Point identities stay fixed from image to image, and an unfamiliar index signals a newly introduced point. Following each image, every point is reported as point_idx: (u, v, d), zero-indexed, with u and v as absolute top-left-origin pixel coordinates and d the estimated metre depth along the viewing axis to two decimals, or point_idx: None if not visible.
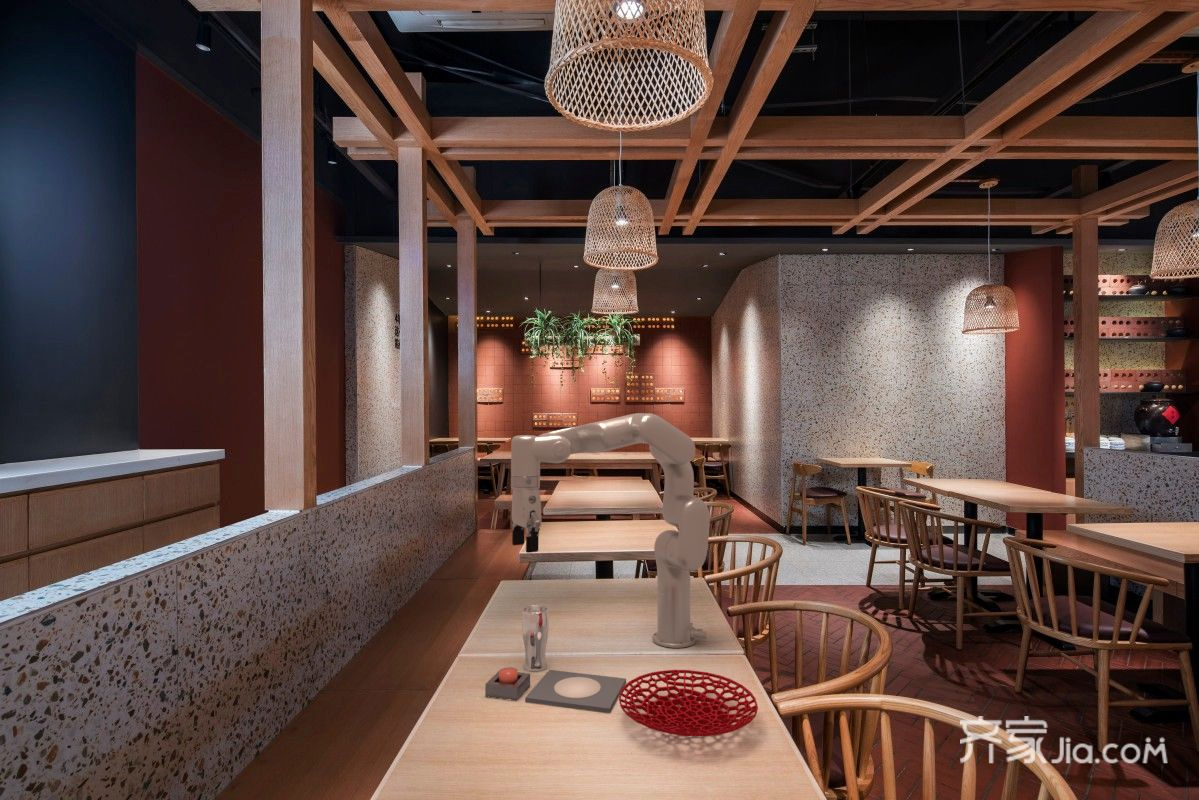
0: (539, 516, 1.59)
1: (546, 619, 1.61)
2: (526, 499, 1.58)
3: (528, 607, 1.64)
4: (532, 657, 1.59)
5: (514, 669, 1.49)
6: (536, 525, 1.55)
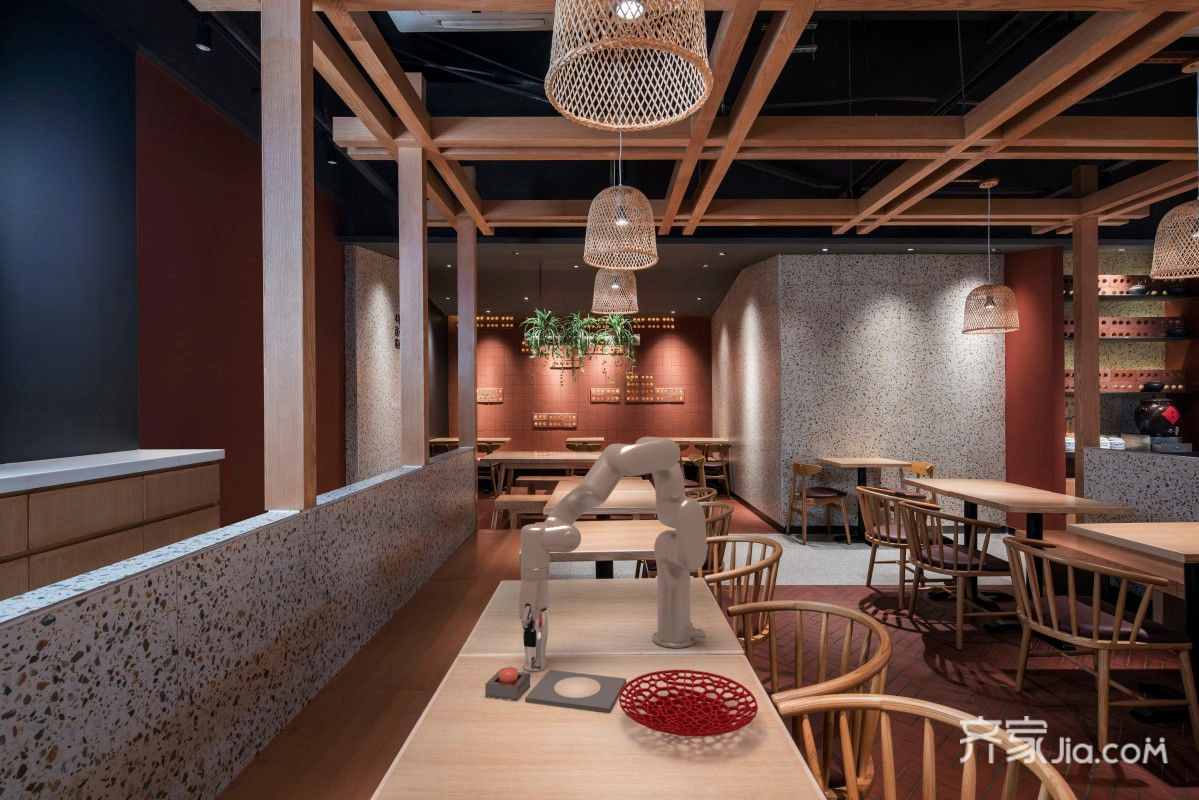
0: None
1: (546, 619, 1.61)
2: None
3: None
4: (532, 657, 1.59)
5: (514, 669, 1.49)
6: None
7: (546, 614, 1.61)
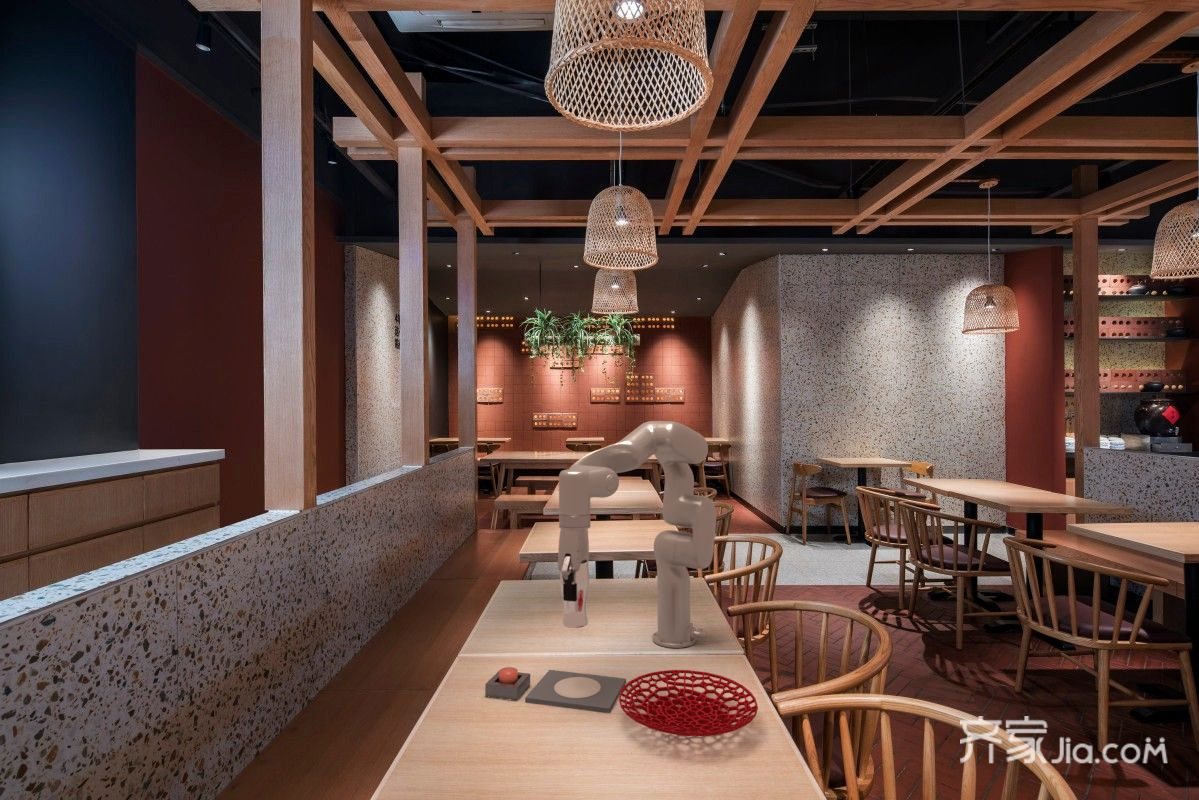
0: None
1: (587, 571, 1.47)
2: None
3: None
4: (572, 612, 1.46)
5: (514, 669, 1.49)
6: None
7: (587, 566, 1.47)
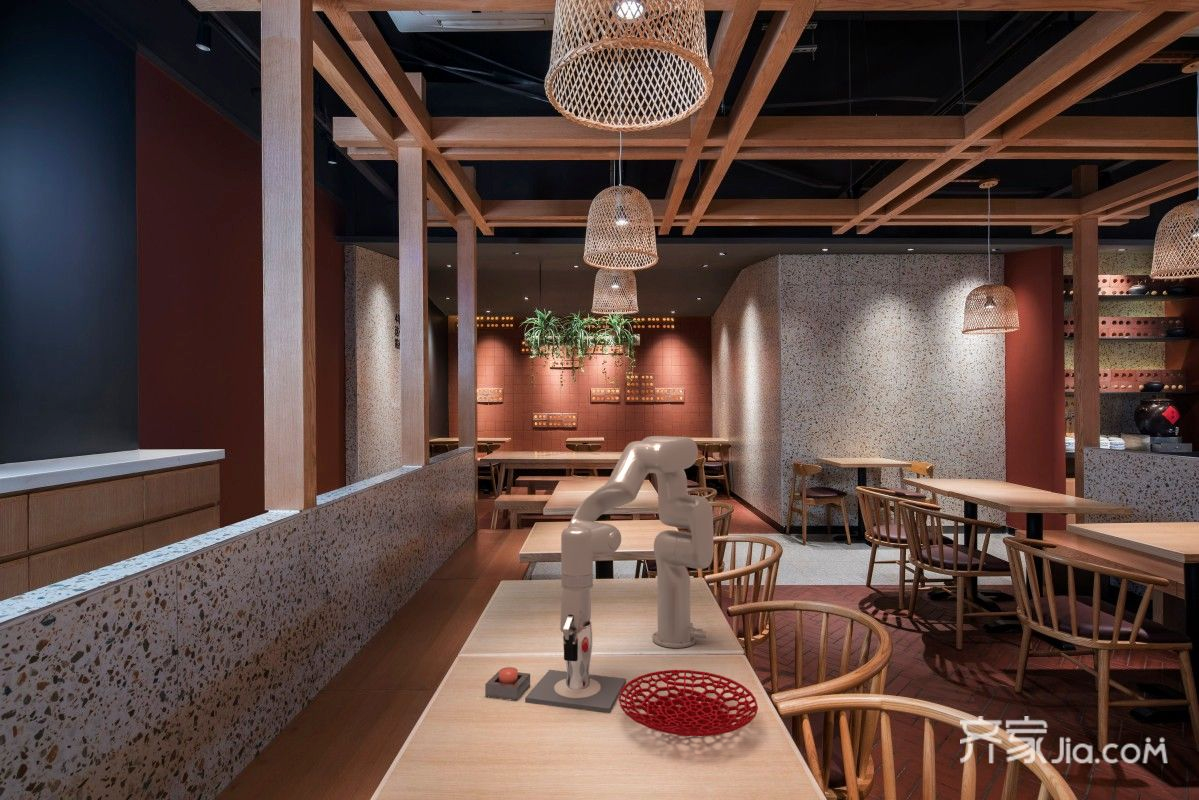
0: None
1: (590, 634, 1.46)
2: None
3: None
4: (575, 676, 1.45)
5: (514, 669, 1.49)
6: None
7: (590, 629, 1.47)
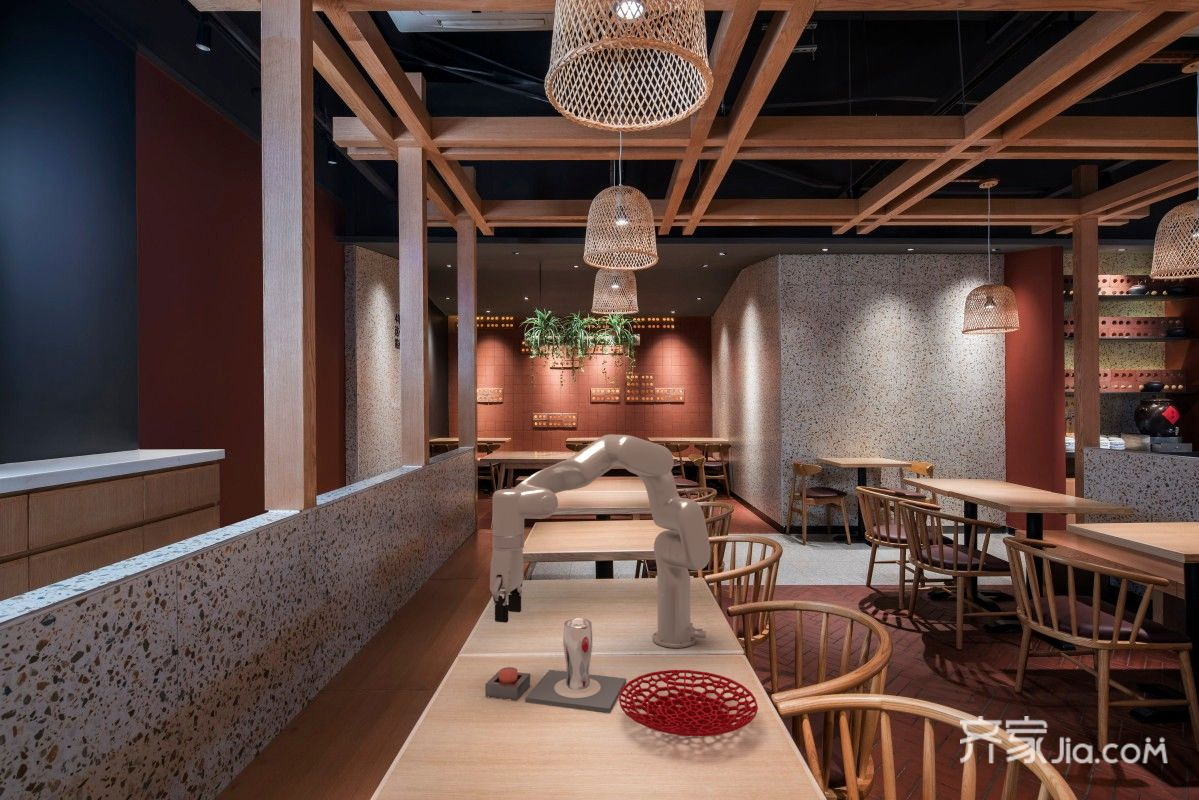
0: None
1: (590, 634, 1.46)
2: None
3: (569, 621, 1.50)
4: (575, 676, 1.45)
5: (514, 669, 1.49)
6: None
7: (590, 629, 1.47)
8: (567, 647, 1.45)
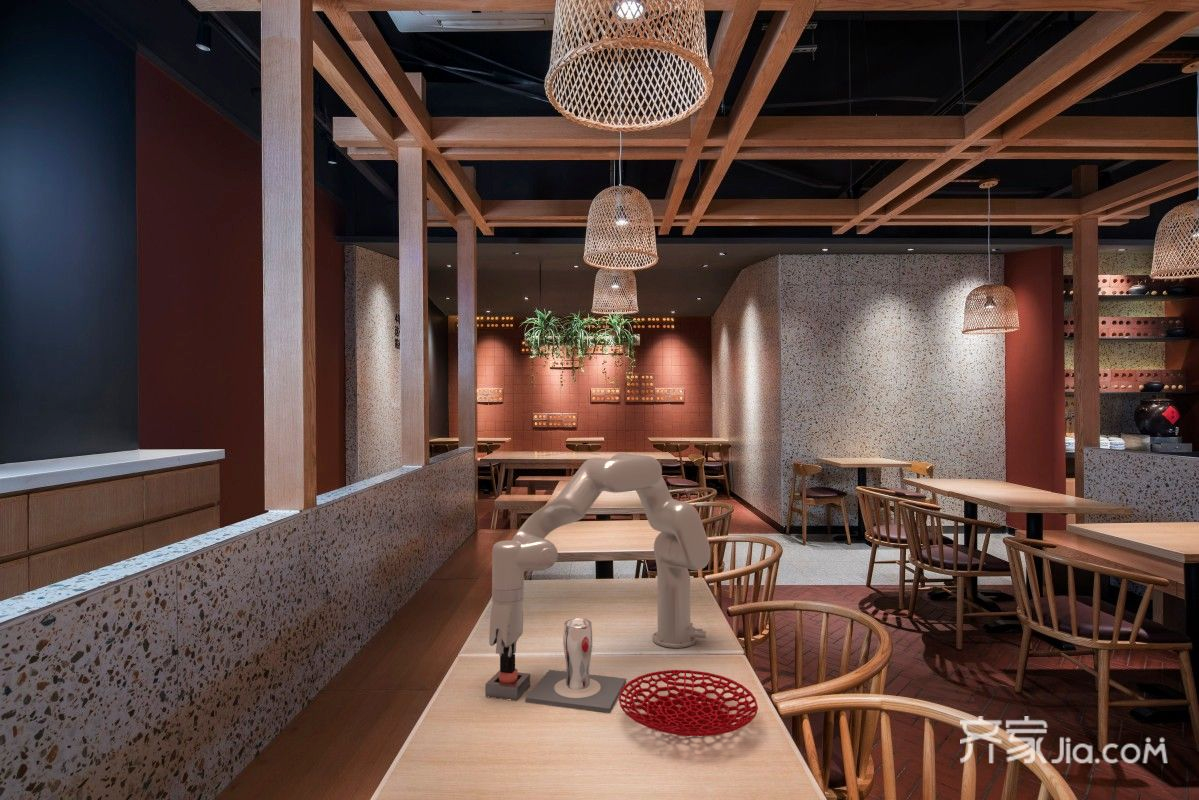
0: None
1: (590, 634, 1.46)
2: None
3: (569, 621, 1.50)
4: (575, 676, 1.45)
5: None
6: None
7: (590, 629, 1.47)
8: (567, 647, 1.45)
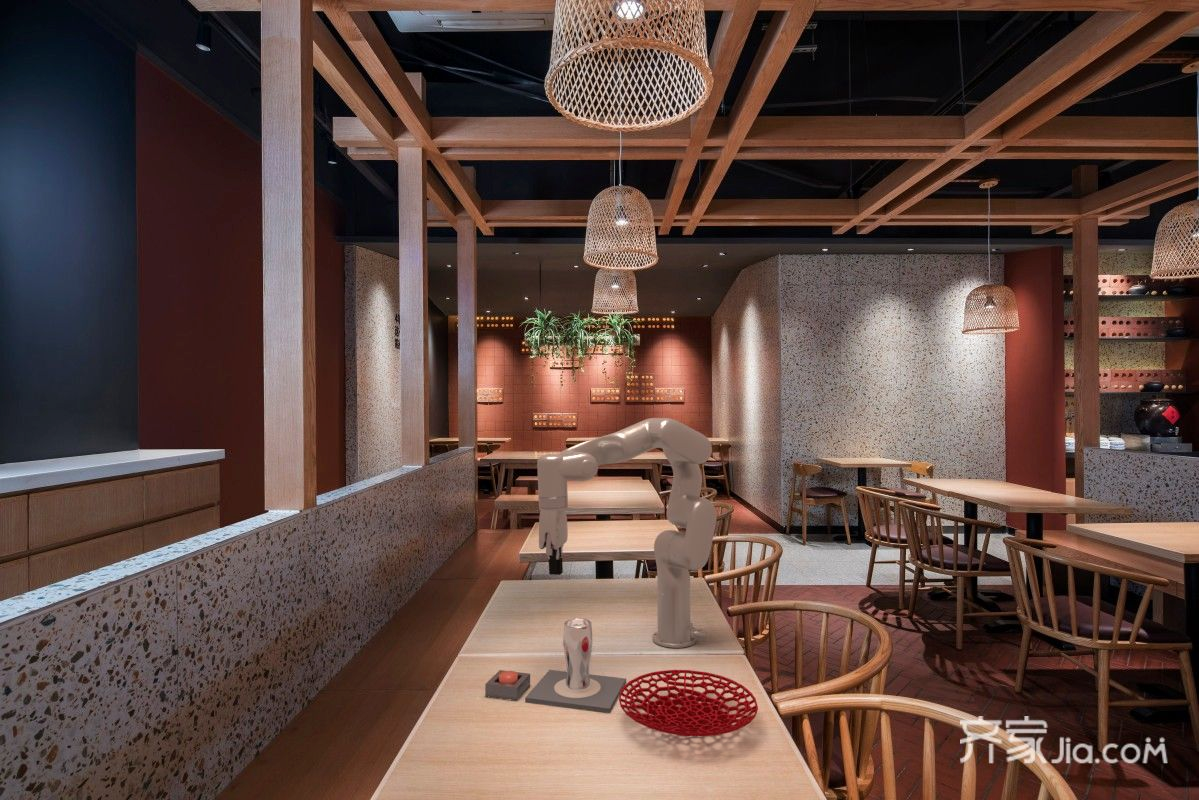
0: None
1: (590, 634, 1.46)
2: None
3: (569, 621, 1.50)
4: (575, 676, 1.45)
5: (514, 673, 1.49)
6: None
7: (590, 629, 1.47)
8: (567, 647, 1.45)
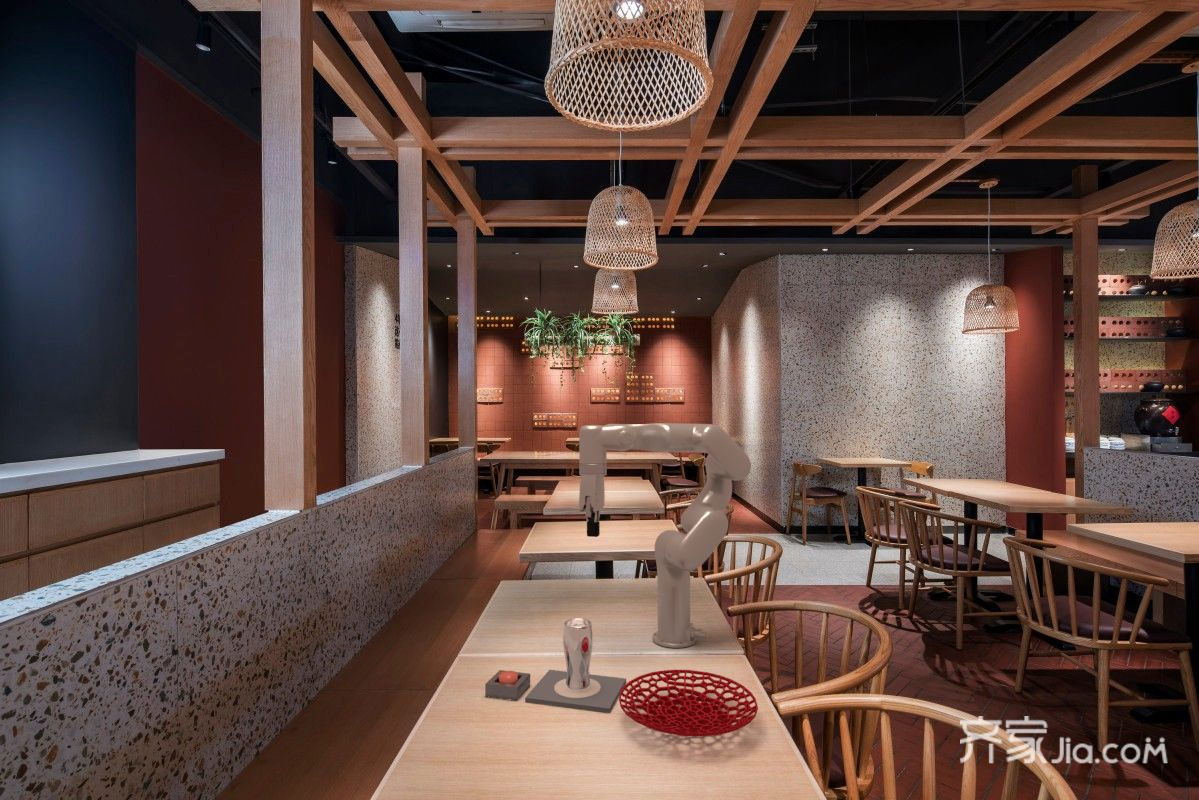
0: None
1: (590, 634, 1.46)
2: None
3: (569, 621, 1.50)
4: (575, 676, 1.45)
5: (514, 673, 1.49)
6: None
7: (590, 629, 1.47)
8: (567, 647, 1.45)
